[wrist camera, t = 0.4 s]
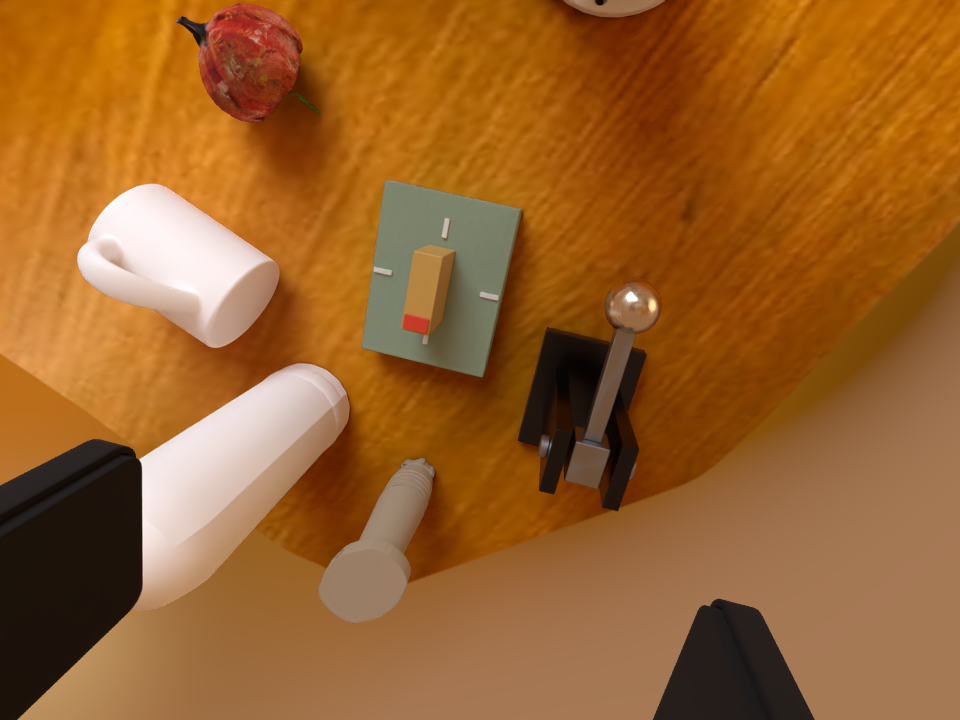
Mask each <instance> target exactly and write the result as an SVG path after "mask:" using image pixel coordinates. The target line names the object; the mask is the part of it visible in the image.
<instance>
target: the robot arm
mask: <svg viewBox="0 0 960 720" xmlns="http://www.w3.org/2000/svg"><path fill="white" fill-rule="evenodd" d="M563 1H564V2H565V3H567V4H568V5H570V6H572V7H574V8H576V9H578V10H580V11H582V12H583V13H587V14H591V15H595V16H599V17H624V16H630V15H635V14H639V13H641V12H644V11H646V10H649V9H652V8H654V7H656V6H658V5H659V4H661V3H663V2H664V1H666V0H603V1H604V3H603V4H602V5H597V3H596V1H597V0H563ZM142 587H143V531H142V464H141V462H140V460H139V459H137V458H136V454H135V452H134V451H133V449H131V448H130V447H127V446H123V445H119V444H115V443H111V442H107V441H104V440H100V439H93V440H90V441H87V442H85V443H83V444H81V445H79V446H77V447H75V448H73V449H71V450H69V451H67V452H65V453H63V454H61V455H59V456H57V457H55V458H54V459H51V460H50V461H48V462H46V463H44V464H42V465H40V466H38V467H36V468H34V469H32V470H30V471H28V472H26V473H24V474H22V475H20V476H18V477H16V478H14V479H12V480H10V481H8V482H6V483H5V484H3V485H1V486H0V720H17V719H18V718H19V717H20V716H21V715H23V714H24V713H25V712H26V710H28V709H29V708H30V707H31V706H32V705H33V704H34V703H35V702H36V701H37V700H38V699H39V698H40V697H41V696H42V695H43V694H44V693H45V692H46V691H47V690H49V689H50V688H51V687H52V686H53V685H54V684H55V683H56V682H57V681H58V680H59V679H60V678H61V677H62V676H63V675H64V674H65V673H66V672H67V671H68V670H69V669H70V668H71V667H72V666H73V665H74V664H75V663H77V662H78V660H80V659H81V658H82V657H83V656H84V655H85V654H86V653H87V652H88V651H89V650H90V649H91V648H92V647H93V646H94V645H95V644H96V643H97V642H98V641H99V640H100V639H101V638H102V637H104V636H105V635H106V634H107V633H108V632H109V631H110V630H111V629H112V628H113V627H114V626H115V625H116V624H117V623H118V622H119V621H120V620H121V619H122V618H123V617H124V616H125V615H126V614H127V613H128V612H129V611H130V610H131V609H132V608H133V607H134V606H135V604H136V603H137V601H138V599H139V597H140V595H141V592H142ZM653 720H814V718H813V715H812V714H811V712H810V710H809V708H808V706H807V704H806V702H805V700H804V698H803V696H802V694H801V692H800V690H799V688H798V686H797V684H796V682H795V680H794V678H793V676H792V674H791V672H790V670H789V668H788V666H787V664H786V662H785V660H784V658H783V656H782V654H781V652H780V650H779V648H778V646H777V644H776V642H775V640H774V638H773V636H772V634H771V632H770V631H769V628H768V626H767V624H766V622H765V620H764V618H763V616H762V615H761V613H760V612H759V610H757V609H755V608H753V607H749V606H745V605H741V604H737V603H733V602H730V601H726V600H722V599H716V600H714V601H713V602H712V604H711V606H710V607H709V606H706V605H704V606H701V607H700V608H699V610H698V612H697V614H696V617H695V619H694V621H693V624H692V626H691V629H690V631H689V633H688V636H687V638H686V641H685V643H684V646H683V648H682V650H681V653H680V655H679V658H678V660H677V663H676V665H675V667H674V670H673V672H672V675H671V677H670V680H669V682H668V684H667V687H666V689H665V692H664V694H663V696H662V699H661V701H660V704H659V706H658V709H657V711H656V713H655V716H654V718H653Z"/></svg>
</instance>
